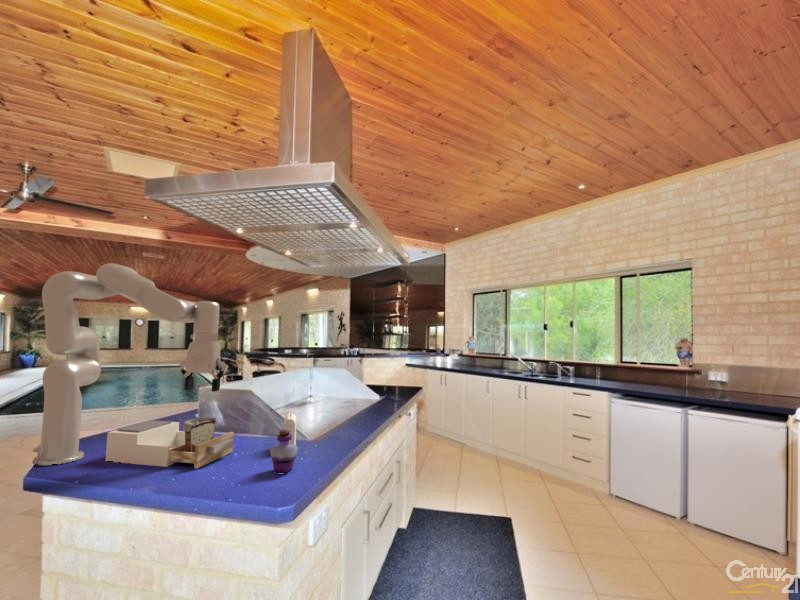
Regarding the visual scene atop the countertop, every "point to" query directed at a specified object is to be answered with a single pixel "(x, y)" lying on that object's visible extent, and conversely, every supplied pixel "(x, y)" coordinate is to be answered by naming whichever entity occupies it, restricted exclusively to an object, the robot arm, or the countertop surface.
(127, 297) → the robot arm
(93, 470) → the countertop surface
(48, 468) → the countertop surface
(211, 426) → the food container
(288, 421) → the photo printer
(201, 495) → the countertop surface
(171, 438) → the dock
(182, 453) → the sliding tray
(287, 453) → the potion bottle
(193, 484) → the countertop surface
